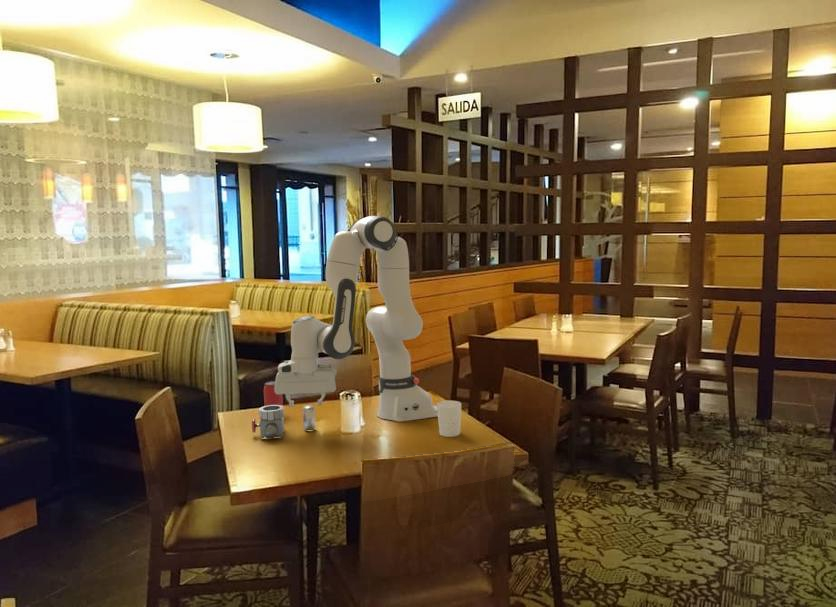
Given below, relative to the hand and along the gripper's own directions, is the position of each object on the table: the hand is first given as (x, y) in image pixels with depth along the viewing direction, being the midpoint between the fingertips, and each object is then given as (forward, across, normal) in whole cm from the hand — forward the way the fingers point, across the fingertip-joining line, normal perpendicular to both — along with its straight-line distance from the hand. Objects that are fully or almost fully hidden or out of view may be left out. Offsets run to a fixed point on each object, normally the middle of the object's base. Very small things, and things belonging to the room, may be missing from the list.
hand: (305, 405), depth 213 cm
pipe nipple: (+8, -1, 0) cm, 8 cm away
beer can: (+9, +12, -22) cm, 27 cm away
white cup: (+8, -46, +16) cm, 49 cm away
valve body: (+9, +12, +2) cm, 15 cm away
